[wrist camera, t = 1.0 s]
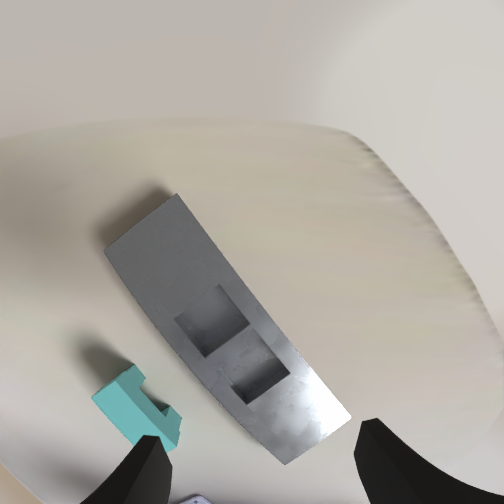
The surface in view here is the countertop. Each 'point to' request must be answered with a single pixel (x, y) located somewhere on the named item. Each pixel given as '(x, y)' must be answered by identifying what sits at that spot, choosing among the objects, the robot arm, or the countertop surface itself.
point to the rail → (224, 331)
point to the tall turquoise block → (137, 410)
